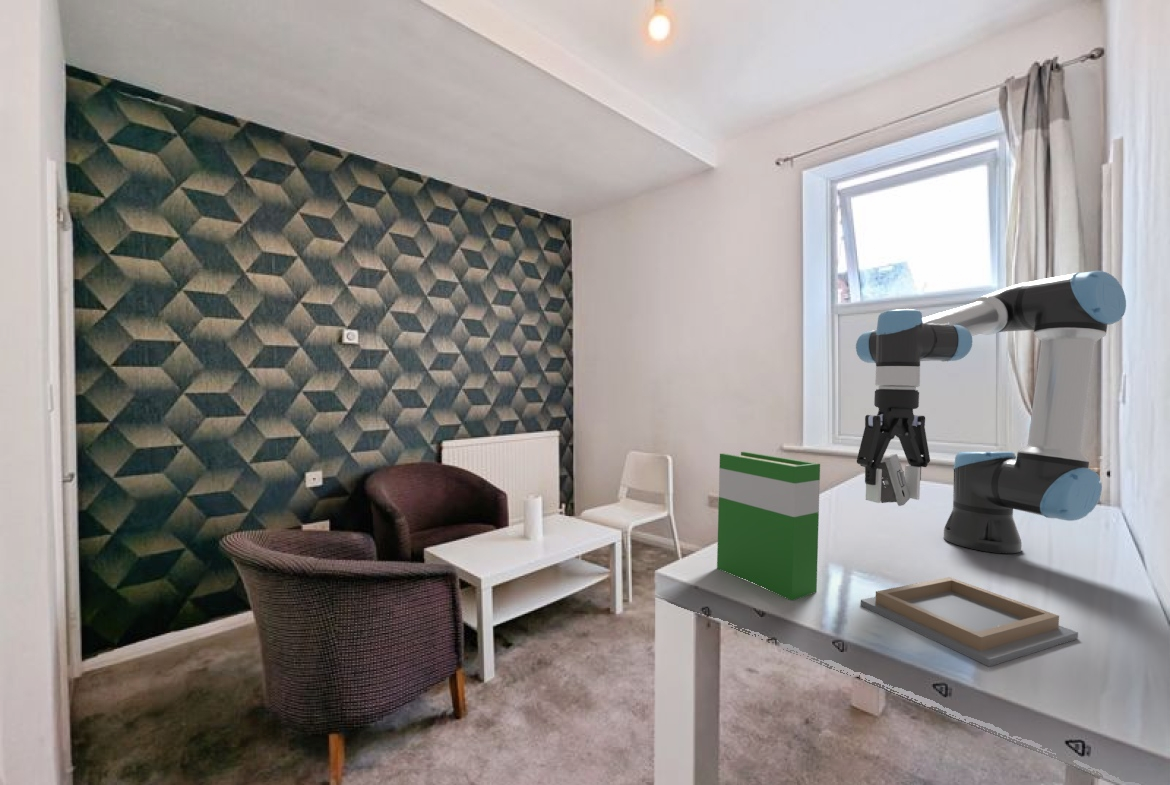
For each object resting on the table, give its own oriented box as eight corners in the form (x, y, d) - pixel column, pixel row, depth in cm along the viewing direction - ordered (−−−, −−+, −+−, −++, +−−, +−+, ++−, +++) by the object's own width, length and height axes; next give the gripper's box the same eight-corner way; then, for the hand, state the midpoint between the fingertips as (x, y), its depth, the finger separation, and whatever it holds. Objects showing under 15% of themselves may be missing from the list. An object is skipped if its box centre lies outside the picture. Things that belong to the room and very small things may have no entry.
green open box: (717, 568, 104) (719, 453, 103) (741, 562, 107) (743, 451, 107) (791, 600, 89) (795, 466, 88) (816, 592, 92) (820, 463, 92)
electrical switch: (903, 507, 94) (899, 458, 94) (872, 505, 97) (868, 457, 98) (910, 499, 101) (907, 453, 102) (881, 497, 104) (878, 453, 105)
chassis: (943, 588, 95) (943, 572, 95) (1077, 638, 77) (1078, 619, 77) (860, 605, 87) (861, 588, 87) (989, 666, 69) (989, 645, 68)
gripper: (918, 389, 106) (914, 492, 107) (838, 387, 98) (834, 498, 99) (954, 389, 99) (950, 500, 100) (871, 387, 91) (867, 507, 92)
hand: (892, 499), depth 99 cm, fingers closed on electrical switch, 10 cm apart
